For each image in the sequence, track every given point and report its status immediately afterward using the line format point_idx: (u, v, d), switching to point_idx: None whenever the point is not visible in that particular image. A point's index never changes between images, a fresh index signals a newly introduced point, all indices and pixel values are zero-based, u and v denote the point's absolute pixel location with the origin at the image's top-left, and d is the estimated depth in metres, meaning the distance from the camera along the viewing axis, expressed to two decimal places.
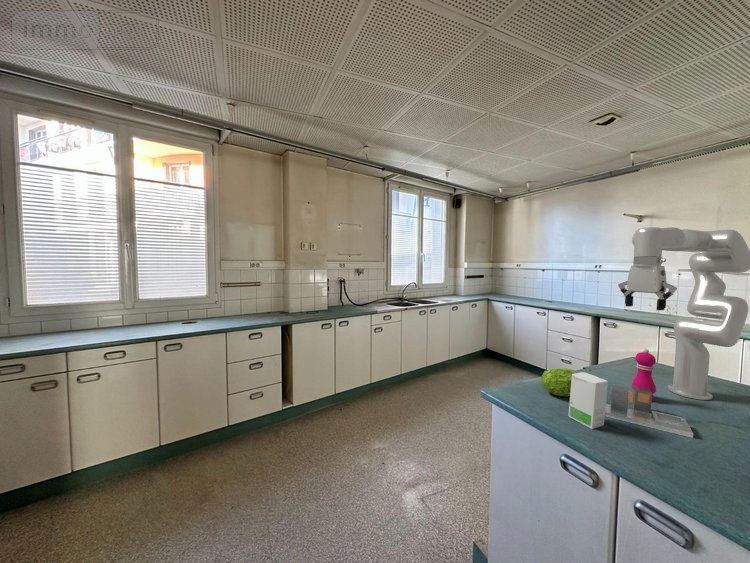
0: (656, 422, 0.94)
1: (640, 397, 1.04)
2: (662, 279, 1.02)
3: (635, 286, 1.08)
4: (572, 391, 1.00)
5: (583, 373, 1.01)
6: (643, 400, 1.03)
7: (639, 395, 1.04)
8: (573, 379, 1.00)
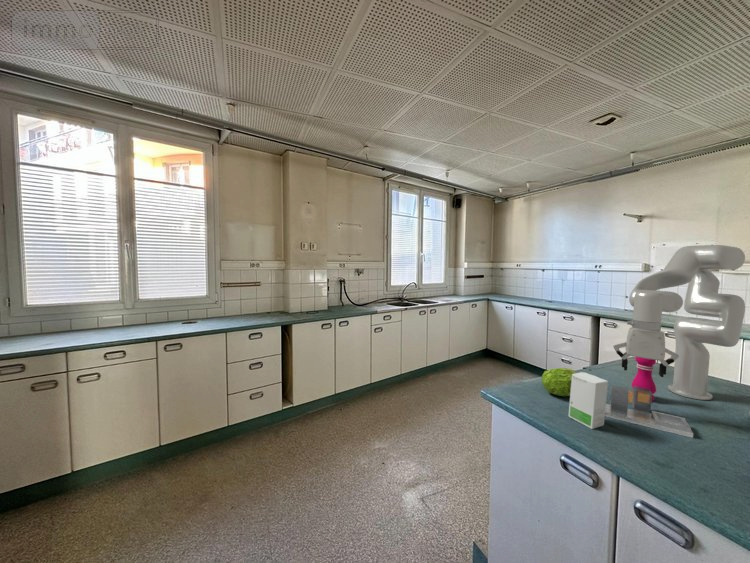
0: (656, 422, 0.94)
1: (640, 397, 1.04)
2: None
3: None
4: (572, 391, 1.00)
5: (583, 373, 1.01)
6: (643, 400, 1.03)
7: (639, 395, 1.04)
8: (573, 379, 1.00)
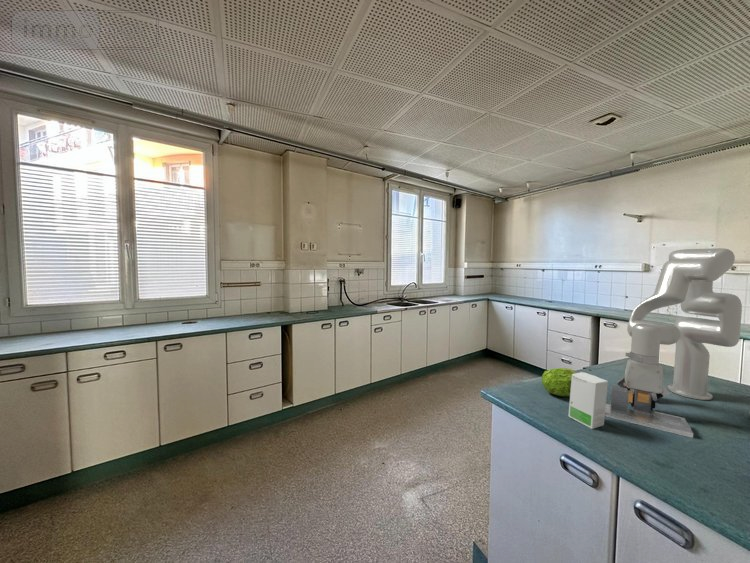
0: (656, 422, 0.94)
1: (640, 397, 1.04)
2: (625, 371, 1.09)
3: None
4: (572, 391, 1.00)
5: (583, 373, 1.01)
6: (643, 400, 1.03)
7: (639, 395, 1.04)
8: (573, 379, 1.00)
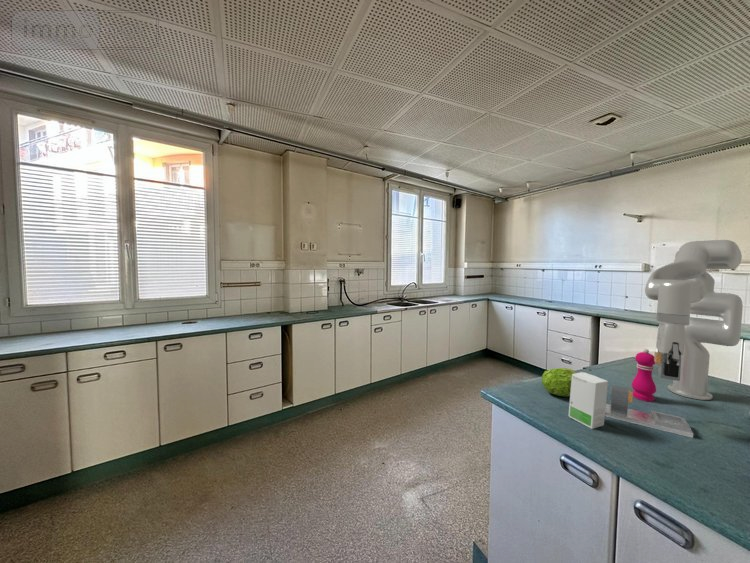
0: (656, 422, 0.94)
1: (654, 356, 0.98)
2: None
3: None
4: (572, 391, 1.00)
5: (583, 373, 1.01)
6: (655, 360, 0.98)
7: None
8: (573, 379, 1.00)
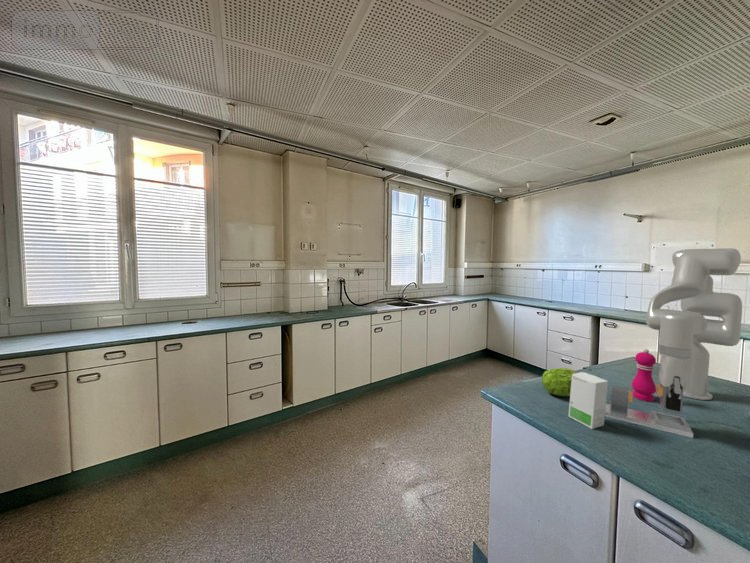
0: (656, 422, 0.94)
1: None
2: None
3: None
4: (572, 391, 1.00)
5: (583, 373, 1.01)
6: (657, 391, 0.97)
7: None
8: (573, 379, 1.00)
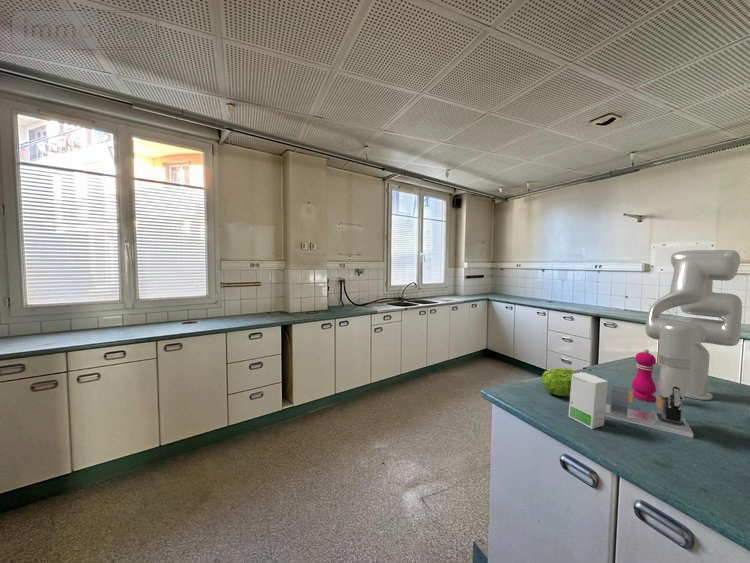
0: (656, 422, 0.94)
1: (656, 400, 0.98)
2: None
3: None
4: (572, 391, 1.00)
5: (583, 373, 1.01)
6: (656, 404, 0.97)
7: (656, 398, 0.98)
8: (573, 379, 1.00)
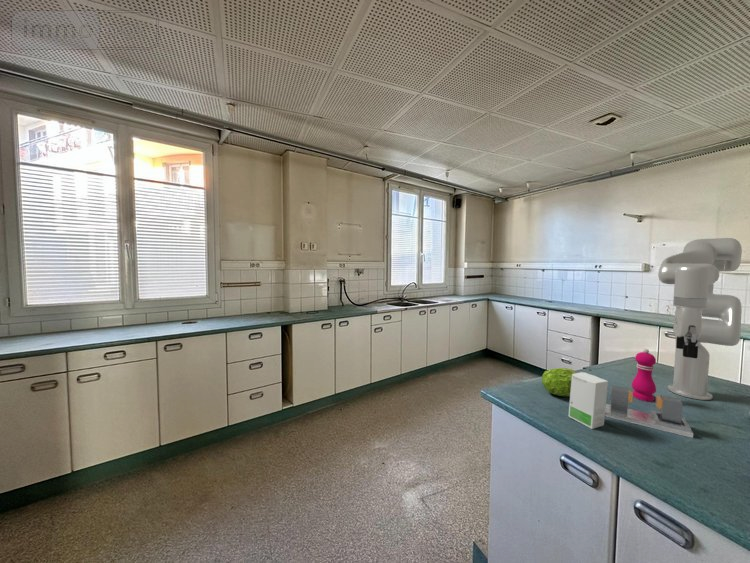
0: (656, 422, 0.94)
1: (656, 400, 0.98)
2: None
3: None
4: (572, 391, 1.00)
5: (583, 373, 1.01)
6: (656, 404, 0.97)
7: (656, 398, 0.98)
8: (573, 379, 1.00)
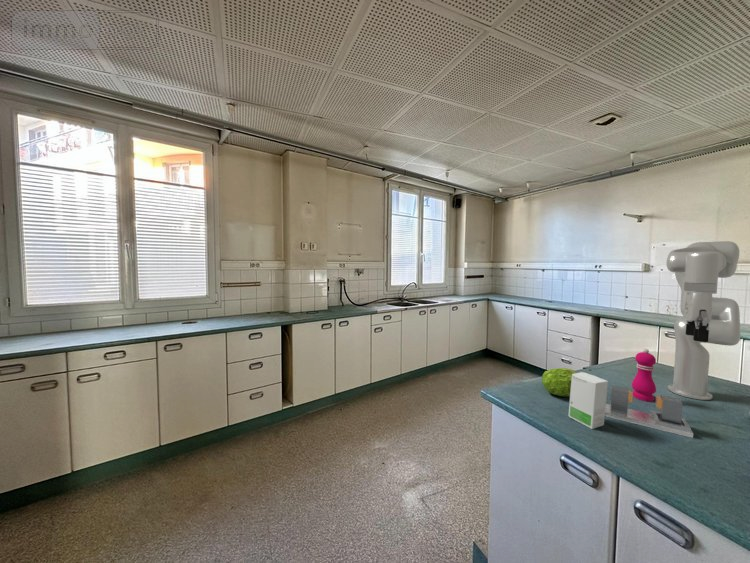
0: (656, 422, 0.94)
1: (656, 400, 0.98)
2: None
3: None
4: (572, 391, 1.00)
5: (583, 373, 1.01)
6: (656, 404, 0.97)
7: (656, 398, 0.98)
8: (573, 379, 1.00)
